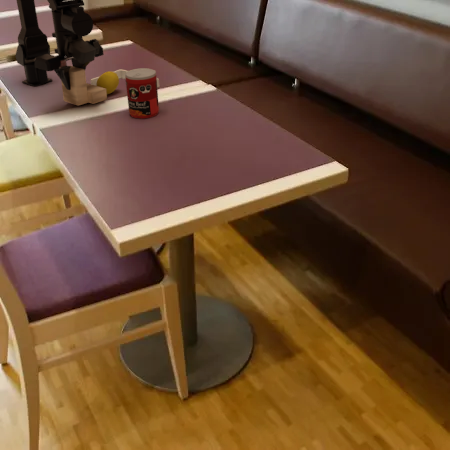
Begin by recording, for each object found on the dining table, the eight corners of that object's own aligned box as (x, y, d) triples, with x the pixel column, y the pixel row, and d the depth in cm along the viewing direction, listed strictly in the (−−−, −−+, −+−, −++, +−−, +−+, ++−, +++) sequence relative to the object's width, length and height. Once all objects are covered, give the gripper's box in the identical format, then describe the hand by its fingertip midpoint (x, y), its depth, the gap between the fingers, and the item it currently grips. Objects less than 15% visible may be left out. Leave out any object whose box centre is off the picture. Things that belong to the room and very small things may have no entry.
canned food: (123, 116, 160) (119, 75, 155) (140, 106, 166) (137, 66, 161) (147, 121, 157) (144, 79, 152) (164, 110, 163) (161, 70, 158)
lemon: (106, 102, 175) (123, 84, 178) (106, 92, 170) (124, 73, 173) (91, 92, 175) (108, 73, 178) (90, 81, 170) (108, 62, 173)
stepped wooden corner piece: (59, 99, 169) (54, 66, 164) (83, 92, 175) (79, 60, 170) (83, 107, 164) (79, 73, 159) (107, 99, 169) (104, 66, 165)
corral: (91, 87, 180) (90, 79, 179) (121, 77, 189) (120, 69, 187) (129, 98, 172) (128, 89, 171) (159, 86, 180) (158, 78, 179)
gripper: (56, 41, 147) (66, 103, 155) (114, 25, 159) (120, 84, 167) (28, 34, 153) (38, 95, 161) (85, 20, 165) (93, 76, 173)
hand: (74, 87), depth 166 cm, fingers closed on stepped wooden corner piece, 3 cm apart
